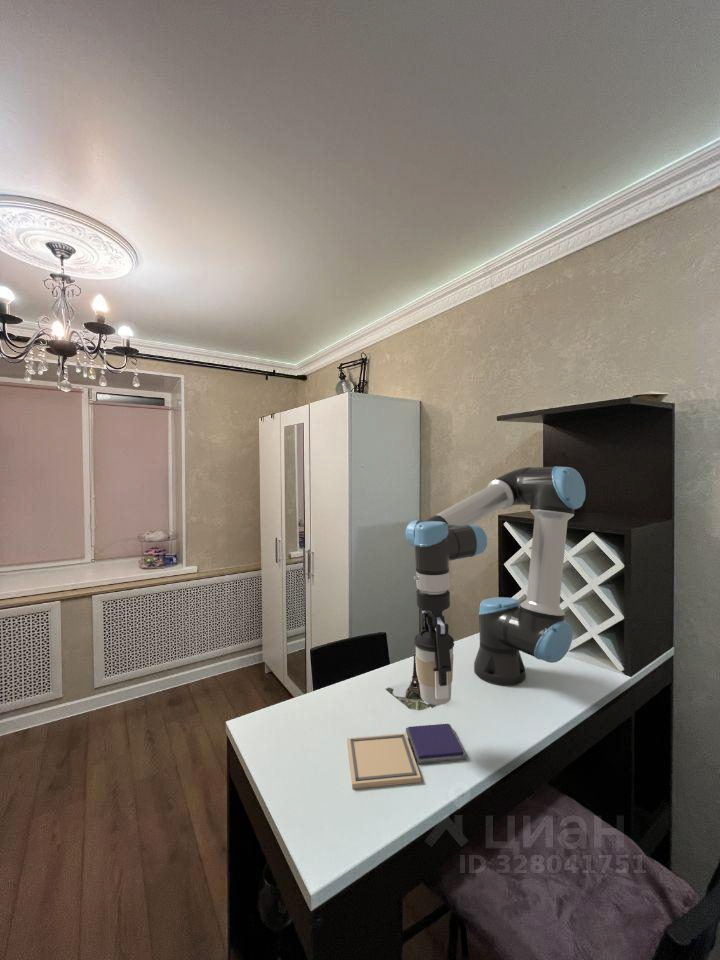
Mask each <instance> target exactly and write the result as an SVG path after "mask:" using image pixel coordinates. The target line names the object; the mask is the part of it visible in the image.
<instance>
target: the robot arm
mask: <svg viewBox="0 0 720 960" xmlns="http://www.w3.org/2000/svg"><path fill="white" fill-rule="evenodd" d="M585 500H586V485H585V482H584V478H582V476H581V474H580V472H578V470H576V469H575V468H573V467H570V466H558V465H556V466H536V467H532V466H531V467H530V466H529V467H521V468H517V469H514V470H511V471H509V472H507V473H504V474H502V475H500V476H498V477H497V478H495V479H493V480H491V481H489V482H488V484H487V486H486V487H484V488H483V489H482V490H479V491H477V492H475V493H473V494H472V495H470V496H468V497H466V498H464V499H463V500H460V501H459V502H457V503H456V504H453V505H452V506H450V507H447V508H445V509H444V510H442V511H441V512H439V513H436V514H435V515H433V516H431V517H429V518H427V519H425V520H423V519H415V520H412V521H410V522H409V523H408V524H407V526H406V529H405V532H404V533H405V539H406V541H407V543H408V544H409V545H410V546H411V547H414V559H415V561H414V562H415V576H413V580H414V581H416V582H415V583H416V589H417V590H416V593H415V595H416V606H417V607H418V608H419V609H420V612H421V613H420V622H421V623H420V631H422V630H425V629H426V631H429V635H430V637H431V638H433V643H434V648H435V663H436V668H433V671H435V697H436V699H444V698H448V672H449V671H451V660H450V649H449V638H448V634H449V628H450V627H449V624H448V623H445V622H446V621H445V616H444V615H443V612H444V611H445V610H448V609H449V608H450V606H451V593H450V591H449V590H450V588H451V587H450V586H451V584H450V582H451V581H450V561H455V560H460V559H465V558H473V557H475V556H477V555H480V554H482V553H484V552H485V550H486V549H487V546H488V537H487V534H486V532H485V530H484V529H483V528H482V527H481V526H479V525H477V524H476V523H479V522H480V521H483V520H484V519H485V518H487V517H489V516H490V515H492V514H494V513H496V512H497V511H499V510H508V509H509V508H511V507H513V506H522V505H523V506H524V505H525V506H529V512H530V513H531V514H532V515H533V516H534V520H533V532H532V541H531V550H530V551H531V552H530V560H529V570H528V571H529V572H528V580H527V590H526V599H525V600H524V601H522V602H521V603H520V602H519V601H518V600H517V598H513V597H507V596H506V597H504V596H502V597H501V596H499V597H497V596H496V597H490V598H485V599H483V600H481V602H480V604H479V612H478V622H479V627H478V631H479V647H478V651H477V654H476V656H475V658H474V659H475V660H474V663H473V671H474V674H475V675H476V676H477V677H478V679H481V680H483V681H485V682H487V683H490V684H494V685H497V686H507V687H508V686H510V687H511V686H517V685H519V684H521V683H523V682H525V680H526V667H525V665H524V662H523V658H522V655H521V653H520V652H522V653H525V654H527V655H529V656H531V657H534V658H535V659H537V660H540V661H545V662H547V663H550V664H553V663H558V662H559V661H561V660H562V659H563V658H564V657H565V656H566V655H567V653H568V651H570V648H571V645H572V642H573V630H572V626H571V625H570V624H569V623H568V622H567V621H565V617H566V615H565V614H566V613H565V611H564V610H563V609H562V607H561V606H560V604H561V603H560V602H561V595H562V594H561V591H562V582H563V571H564V561H565V550H566V542H567V530H568V522H569V520H570V519H572V518H573V517H574V516H575V510H577V509H580V508H581V507H582V506H583V504H584V502H585ZM433 632H436V633H433Z"/></svg>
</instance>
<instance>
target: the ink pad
mask: <svg viewBox="0 0 720 960" xmlns="http://www.w3.org/2000/svg"><path fill="white" fill-rule="evenodd" d="M405 733H406V735H407V738H408V741H409V744H410V747H411V750H412V753H413V756H414V759H415V762H416V765H425V764H434V763H435V764H436V763H445V762H458V761H466V760H467V754H466V752H465V750H464V748H463V746H462V744H461V742H460V741H459V739H458V737H457V734H456V733H455V731H454V729H453V726H452V725H451V724H450V723H440V724H438V723H437V724H427V725H415V726H414V725H413V726H408V727H406V728H405Z"/></svg>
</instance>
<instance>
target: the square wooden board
mask: <svg viewBox="0 0 720 960" xmlns="http://www.w3.org/2000/svg"><path fill="white" fill-rule="evenodd" d="M346 740H347V741H346V742H347V752H348V759H349V761H348V762H349V769H350V771H349V772H350V777H351V778H350V779H351V787H352V788H351V789H352V790H354V789H355V790H357V789H364V788H365V789H367V788H376V787H385V786H393V785H404V784H405V785H406V784H414V783H415V784H416V783H421V782H422V777H421V776H422V775H421V773H420V772H419V768H418V764H417V762H416V759H415V756H414V753H413V750H412V748H411V745H410V742H409V739H408V736H407V733H406V732H404V733H403V732H402V733H393V734H380V735H367V736H359V737H358V736H354V737H347V738H346Z"/></svg>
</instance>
